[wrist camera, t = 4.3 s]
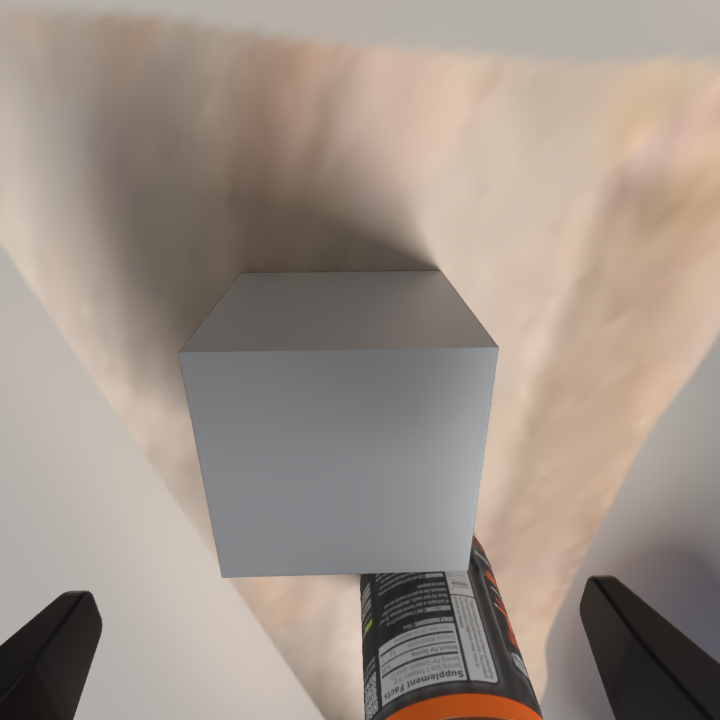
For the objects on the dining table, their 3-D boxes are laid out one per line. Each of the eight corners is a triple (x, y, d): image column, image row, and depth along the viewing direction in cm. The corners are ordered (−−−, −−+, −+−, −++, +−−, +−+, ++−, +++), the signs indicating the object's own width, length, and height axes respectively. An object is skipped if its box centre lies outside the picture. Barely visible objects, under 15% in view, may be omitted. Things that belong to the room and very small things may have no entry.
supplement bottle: (490, 589, 23) (609, 955, 12) (373, 610, 23) (396, 981, 13) (477, 500, 20) (613, 867, 10) (346, 525, 21) (347, 903, 10)
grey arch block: (429, 435, 19) (467, 570, 13) (261, 438, 18) (221, 577, 13) (440, 270, 16) (498, 346, 10) (241, 272, 15) (178, 352, 10)
